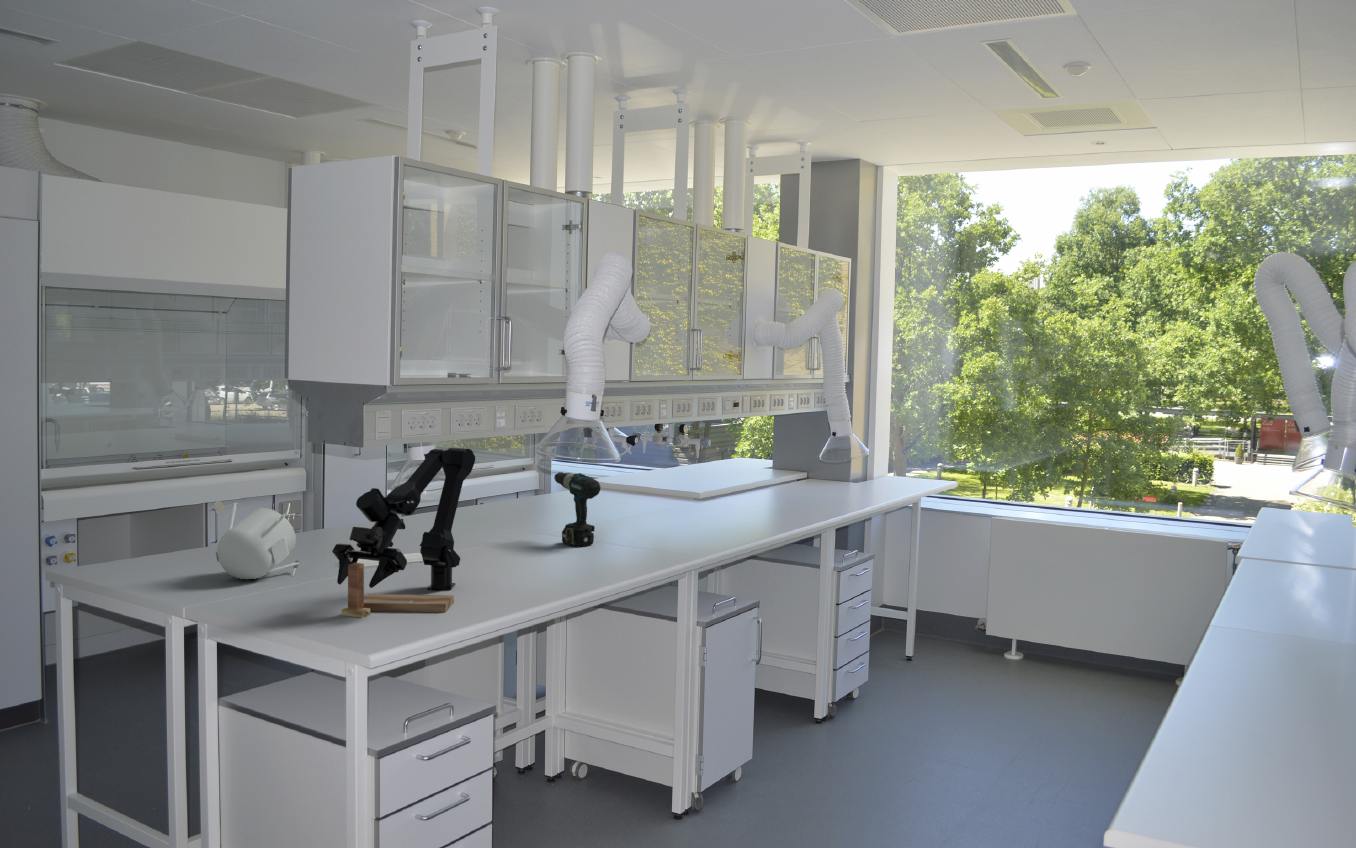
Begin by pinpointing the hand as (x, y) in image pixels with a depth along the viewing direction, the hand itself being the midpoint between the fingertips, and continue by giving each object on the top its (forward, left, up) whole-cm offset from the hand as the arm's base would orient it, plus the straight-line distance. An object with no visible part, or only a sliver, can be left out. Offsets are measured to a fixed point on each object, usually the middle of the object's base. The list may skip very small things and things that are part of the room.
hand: (354, 585), depth 232 cm
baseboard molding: (-66, -8, -8) cm, 67 cm away
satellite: (-41, -40, -8) cm, 57 cm away
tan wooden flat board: (-9, +10, -7) cm, 15 cm away
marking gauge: (-1, 0, -7) cm, 7 cm away
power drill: (-101, +44, -8) cm, 110 cm away
